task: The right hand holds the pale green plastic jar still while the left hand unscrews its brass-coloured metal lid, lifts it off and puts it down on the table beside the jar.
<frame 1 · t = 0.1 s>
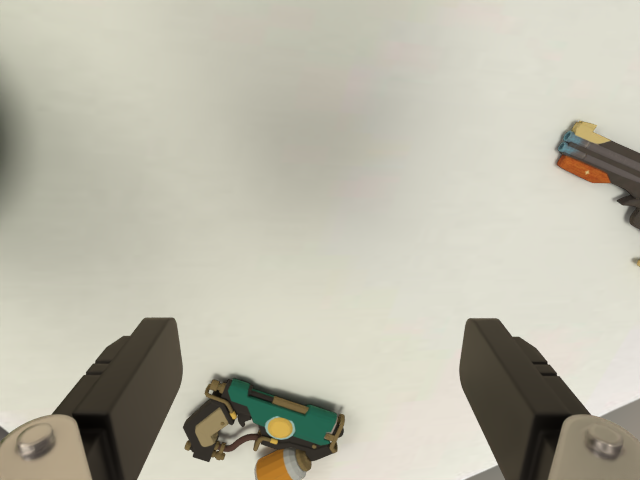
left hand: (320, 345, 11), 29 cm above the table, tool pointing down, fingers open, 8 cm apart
spray gun: (263, 419, 50), on the table
toy gun: (625, 203, 40), on the table
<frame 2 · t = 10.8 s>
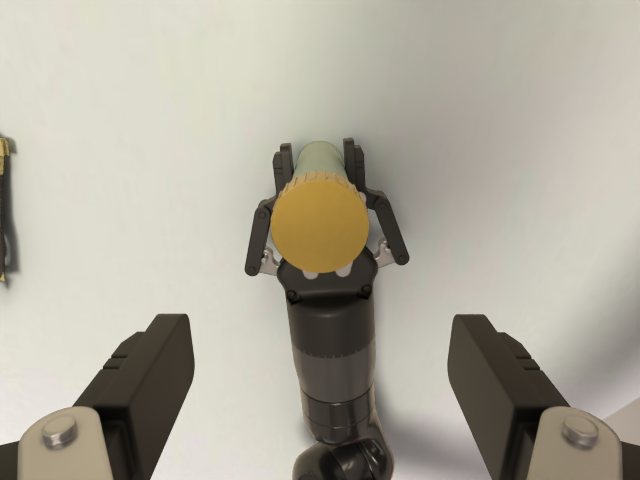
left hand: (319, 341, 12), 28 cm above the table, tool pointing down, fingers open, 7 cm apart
right hand: (316, 143, 31), fingers closed on jar, 4 cm apart
jar: (319, 163, 38), on the table, touching right hand
lid: (319, 226, 21), point 18 cm above the table, screwed on, not yet turned
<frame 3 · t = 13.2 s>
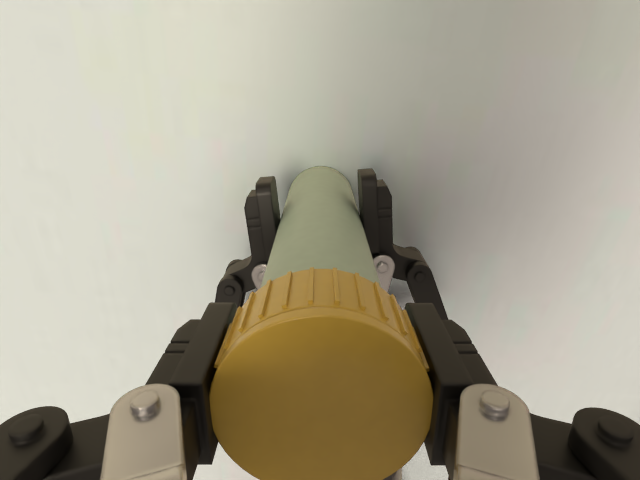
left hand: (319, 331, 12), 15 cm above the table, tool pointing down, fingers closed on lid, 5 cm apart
jar: (320, 198, 26), on the table, touching right hand
lid: (321, 402, 9), point 18 cm above the table, screwed on, not yet turned, touching left hand
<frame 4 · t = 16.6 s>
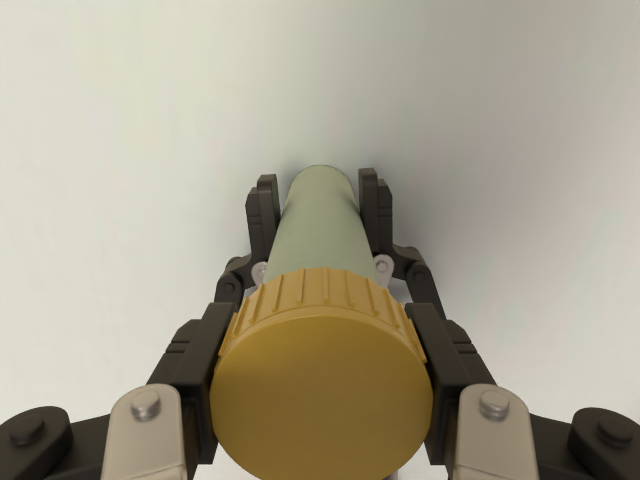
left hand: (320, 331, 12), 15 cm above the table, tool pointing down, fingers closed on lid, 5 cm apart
jar: (320, 196, 27), on the table, touching right hand
lid: (321, 401, 9), point 18 cm above the table, turned 71° so far, risen 0.1 cm, still on its thread, touching left hand
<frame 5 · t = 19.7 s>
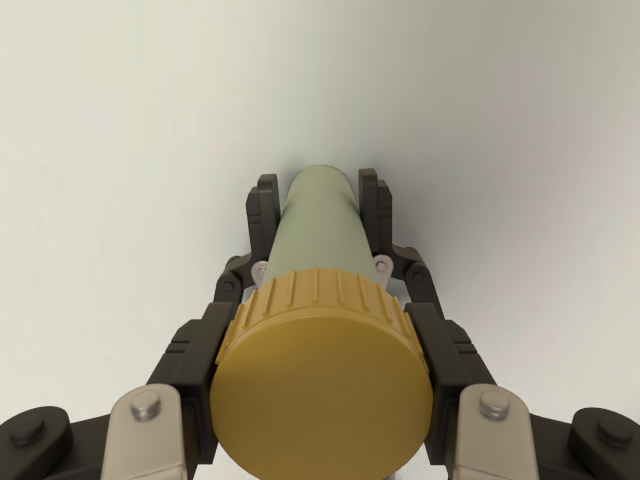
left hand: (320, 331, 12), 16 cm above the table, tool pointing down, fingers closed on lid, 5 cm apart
jar: (320, 196, 27), on the table, touching right hand
lid: (321, 402, 9), point 18 cm above the table, turned 141° so far, risen 0.2 cm, still on its thread, touching left hand
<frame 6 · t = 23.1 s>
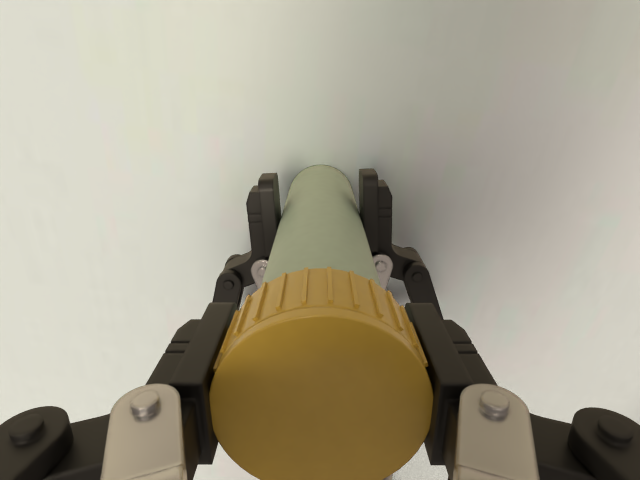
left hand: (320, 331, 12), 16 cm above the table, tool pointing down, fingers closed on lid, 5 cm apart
jar: (320, 196, 27), on the table, touching right hand
lid: (321, 402, 9), point 19 cm above the table, turned 211° so far, risen 0.2 cm, still on its thread, touching left hand
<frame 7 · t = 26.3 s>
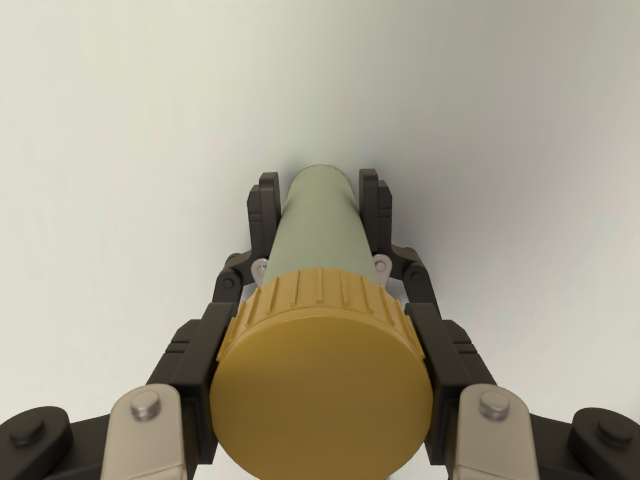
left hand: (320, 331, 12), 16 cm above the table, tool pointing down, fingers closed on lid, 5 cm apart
jar: (320, 196, 27), on the table, touching right hand
lid: (321, 402, 9), point 19 cm above the table, turned 281° so far, risen 0.3 cm, still on its thread, touching left hand
when the left hand's fingers open (0 cm above the table, at t = 33.2 s): lid drops 1 cm, point 2 cm above the table.
when the right hand's fingers open (7 cm above the table, at t = 34.3 s): jar stays where it is, on the table.
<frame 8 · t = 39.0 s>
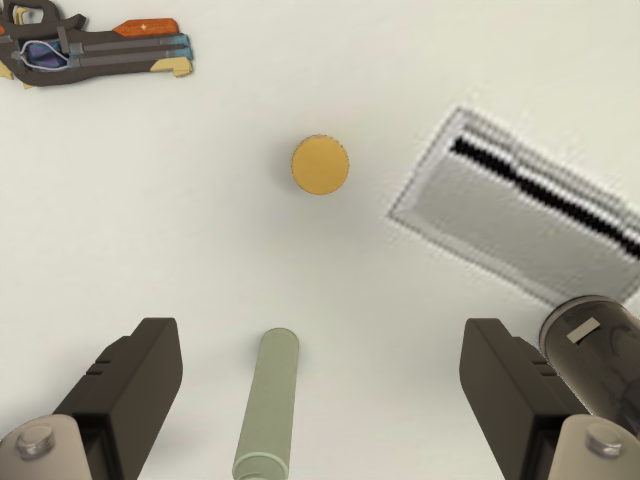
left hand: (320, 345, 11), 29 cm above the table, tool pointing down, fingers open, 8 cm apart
jar: (280, 344, 45), on the table
lid: (320, 166, 36), point 2 cm above the table, off its thread
toy gun: (73, 22, 34), on the table
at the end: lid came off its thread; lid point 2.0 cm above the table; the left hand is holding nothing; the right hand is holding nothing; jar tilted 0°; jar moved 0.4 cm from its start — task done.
